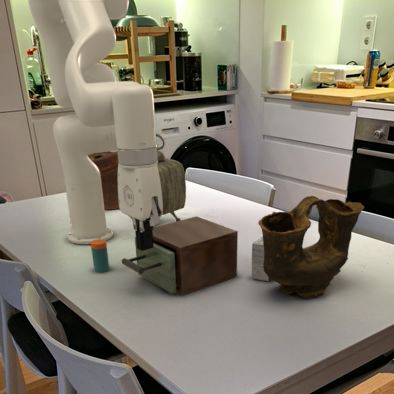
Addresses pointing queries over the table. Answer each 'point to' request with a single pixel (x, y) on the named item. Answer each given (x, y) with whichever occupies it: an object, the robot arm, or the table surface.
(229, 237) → the cabinet
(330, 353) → the table surface
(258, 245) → the medicine box
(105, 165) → the reddish brown pot
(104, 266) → the glue stick
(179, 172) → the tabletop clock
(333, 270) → the pottery vessel
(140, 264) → the drawer
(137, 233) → the robot arm
